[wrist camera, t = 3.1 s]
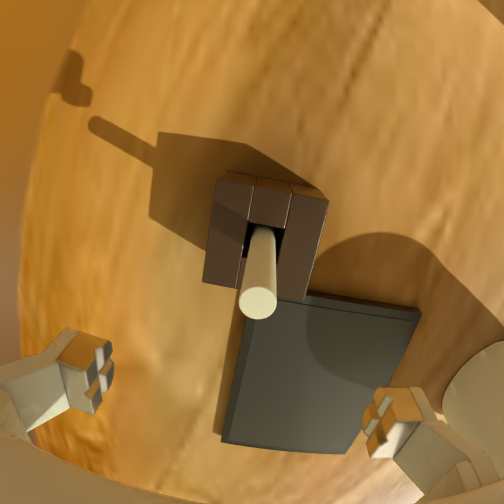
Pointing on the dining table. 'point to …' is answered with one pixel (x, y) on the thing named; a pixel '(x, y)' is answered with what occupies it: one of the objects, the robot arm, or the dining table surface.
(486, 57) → the dining table surface
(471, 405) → the utensil holder
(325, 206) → the pen stand
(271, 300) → the stylus
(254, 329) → the tablet
